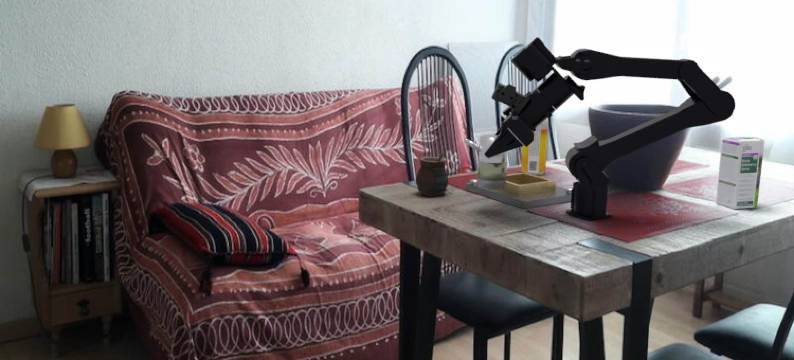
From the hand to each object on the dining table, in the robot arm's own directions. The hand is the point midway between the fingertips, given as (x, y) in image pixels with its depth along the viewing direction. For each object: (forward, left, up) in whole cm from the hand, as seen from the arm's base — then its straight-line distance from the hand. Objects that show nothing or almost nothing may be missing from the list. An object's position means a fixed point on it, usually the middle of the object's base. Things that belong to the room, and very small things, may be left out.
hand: (485, 153), depth 137 cm
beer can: (+23, -34, -12) cm, 43 cm away
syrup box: (-23, -49, -12) cm, 55 cm away
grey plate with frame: (+7, -16, -12) cm, 21 cm away
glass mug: (0, 0, -7) cm, 7 cm away
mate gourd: (+17, +1, -12) cm, 21 cm away
